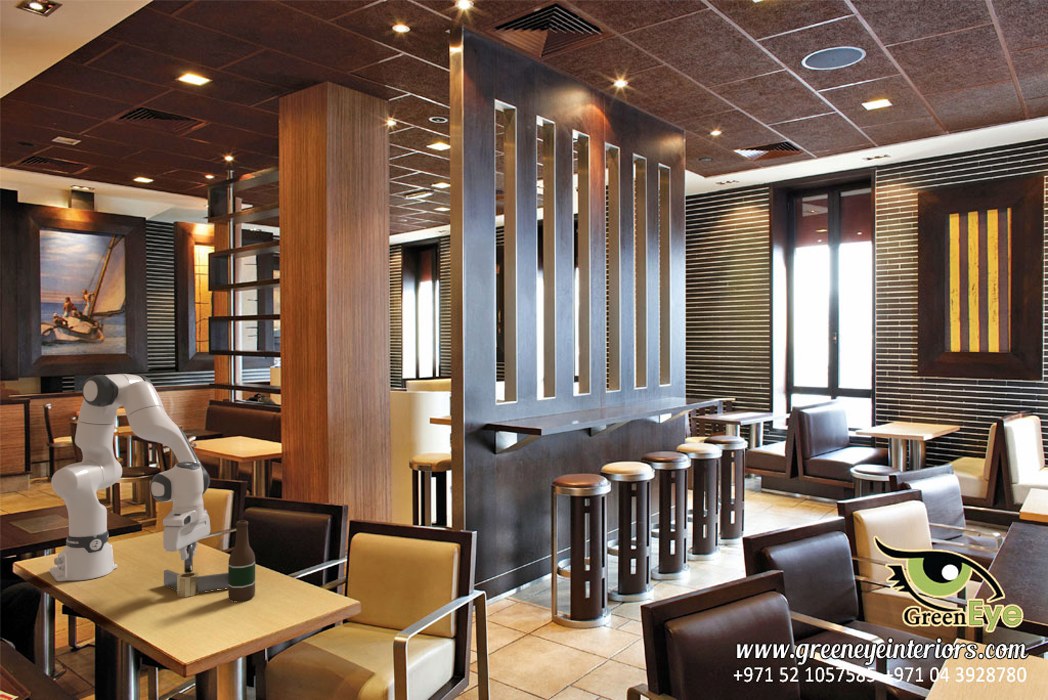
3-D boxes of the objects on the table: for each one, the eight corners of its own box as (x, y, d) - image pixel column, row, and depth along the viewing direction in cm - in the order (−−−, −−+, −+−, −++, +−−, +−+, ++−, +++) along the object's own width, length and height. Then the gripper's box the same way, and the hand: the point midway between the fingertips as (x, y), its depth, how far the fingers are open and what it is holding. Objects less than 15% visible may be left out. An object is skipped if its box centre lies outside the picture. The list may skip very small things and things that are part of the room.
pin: (182, 571, 217) (182, 543, 217) (190, 569, 219) (190, 541, 219) (186, 573, 216) (186, 544, 216) (194, 571, 218) (194, 542, 218)
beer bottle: (260, 595, 217) (260, 519, 217) (243, 603, 210) (243, 525, 209) (240, 592, 219) (240, 517, 219) (222, 600, 212) (222, 523, 212)
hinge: (156, 587, 223) (156, 569, 223) (201, 575, 235) (201, 557, 235) (190, 601, 211) (191, 582, 211) (236, 587, 223) (236, 569, 223)
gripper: (197, 506, 228) (197, 547, 228) (159, 521, 208) (159, 567, 208) (215, 506, 228) (215, 548, 228) (178, 522, 207) (178, 567, 207)
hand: (188, 557), depth 218 cm, fingers closed on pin, 2 cm apart
